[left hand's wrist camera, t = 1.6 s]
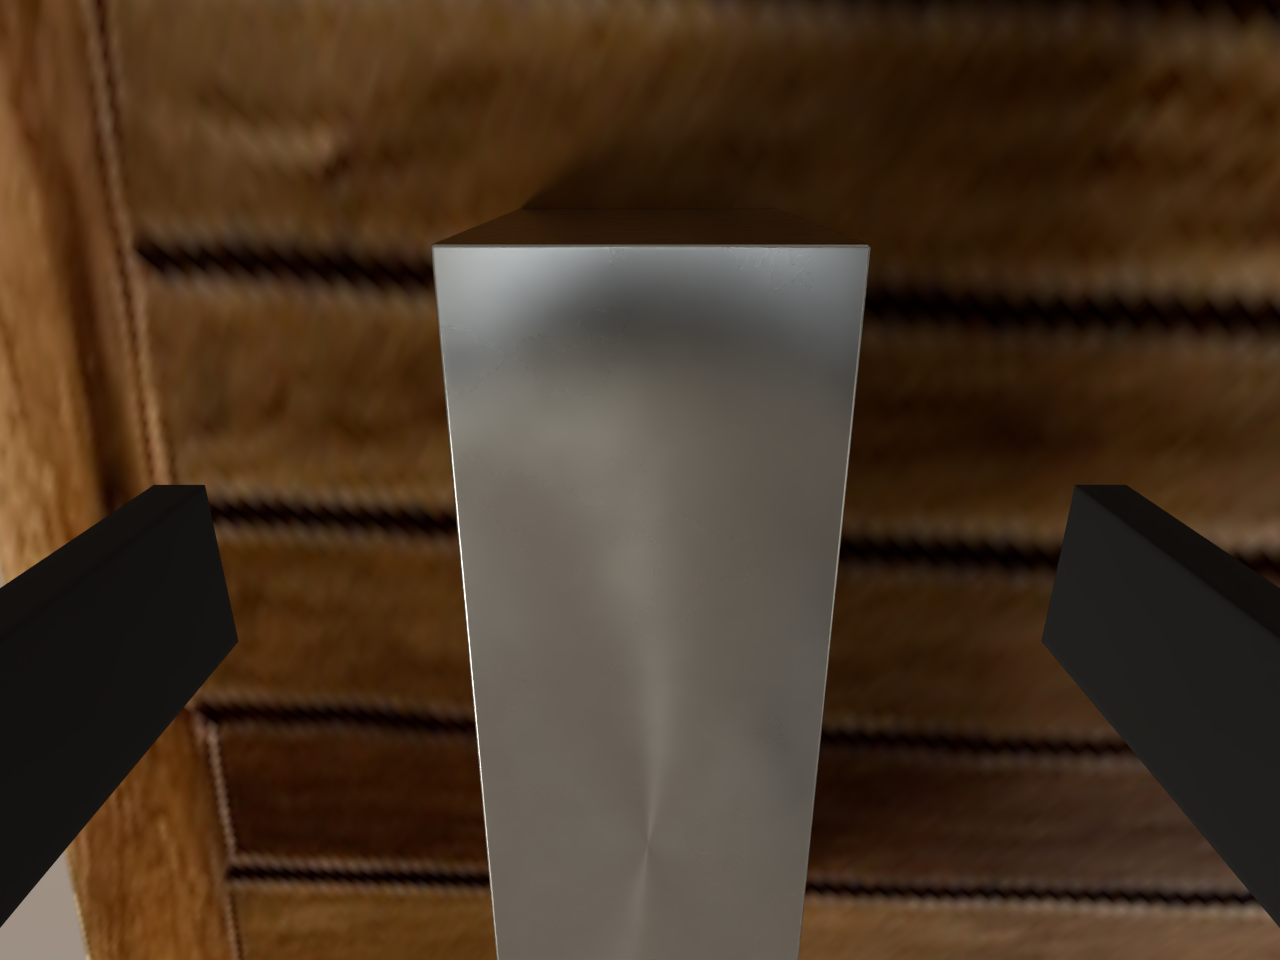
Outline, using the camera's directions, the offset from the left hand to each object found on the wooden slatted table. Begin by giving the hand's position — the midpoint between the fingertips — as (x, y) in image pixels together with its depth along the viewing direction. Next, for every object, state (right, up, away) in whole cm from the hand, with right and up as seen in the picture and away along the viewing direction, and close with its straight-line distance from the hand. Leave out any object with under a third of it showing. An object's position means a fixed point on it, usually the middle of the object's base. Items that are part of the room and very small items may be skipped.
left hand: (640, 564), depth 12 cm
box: (0, -4, +17) cm, 18 cm away
